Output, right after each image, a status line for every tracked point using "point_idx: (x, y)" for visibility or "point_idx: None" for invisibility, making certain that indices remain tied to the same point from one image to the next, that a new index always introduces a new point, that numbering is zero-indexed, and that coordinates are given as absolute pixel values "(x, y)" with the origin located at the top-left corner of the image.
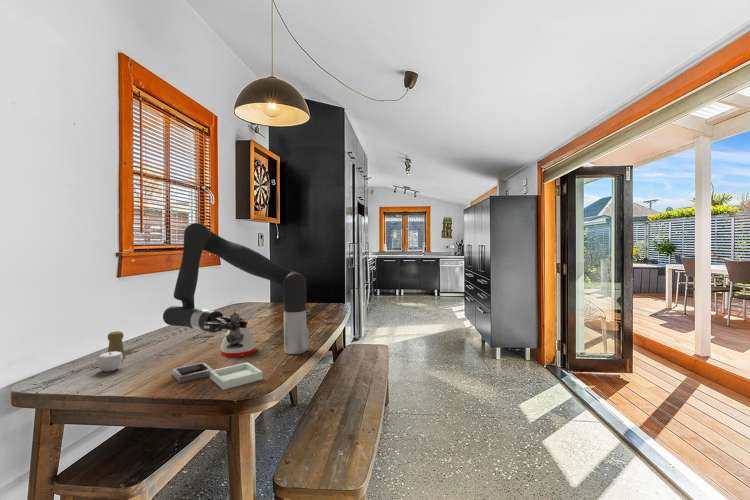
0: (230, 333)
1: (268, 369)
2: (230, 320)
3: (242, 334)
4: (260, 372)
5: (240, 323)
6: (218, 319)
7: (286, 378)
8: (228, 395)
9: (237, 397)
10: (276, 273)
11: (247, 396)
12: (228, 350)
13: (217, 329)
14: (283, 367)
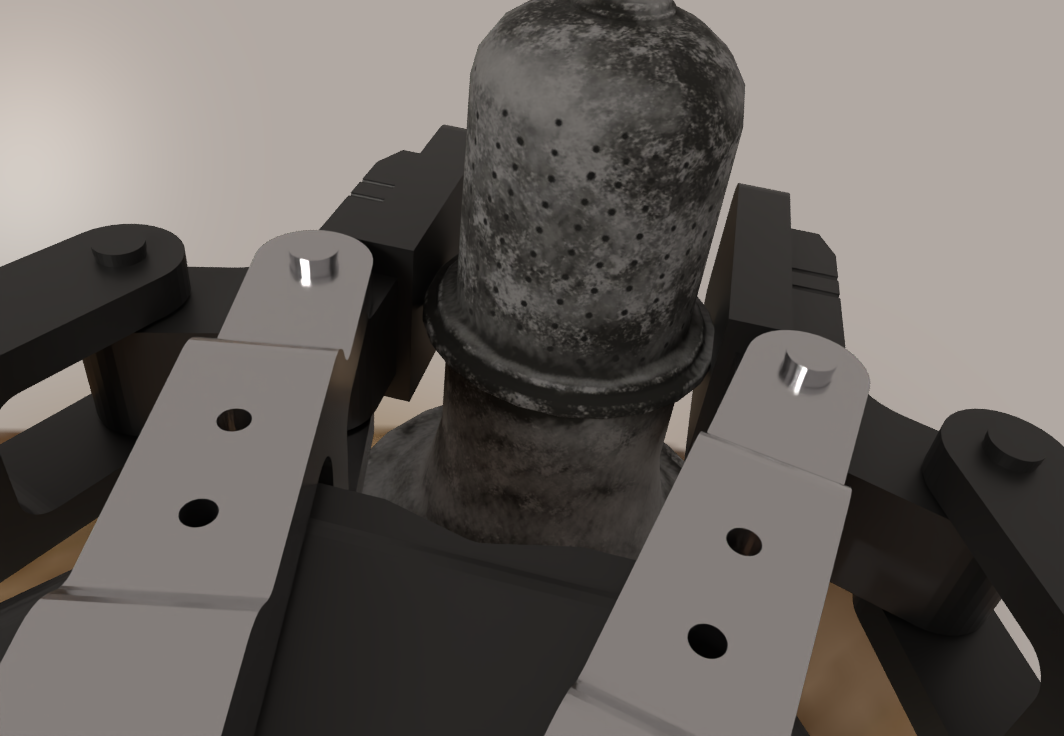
0: (658, 504)
1: None
2: (701, 243)
3: (420, 431)
4: None
5: (446, 247)
6: (768, 706)
7: (377, 430)
8: (855, 687)
9: (840, 595)
10: None
11: None
12: None
13: (978, 636)
14: (65, 548)
